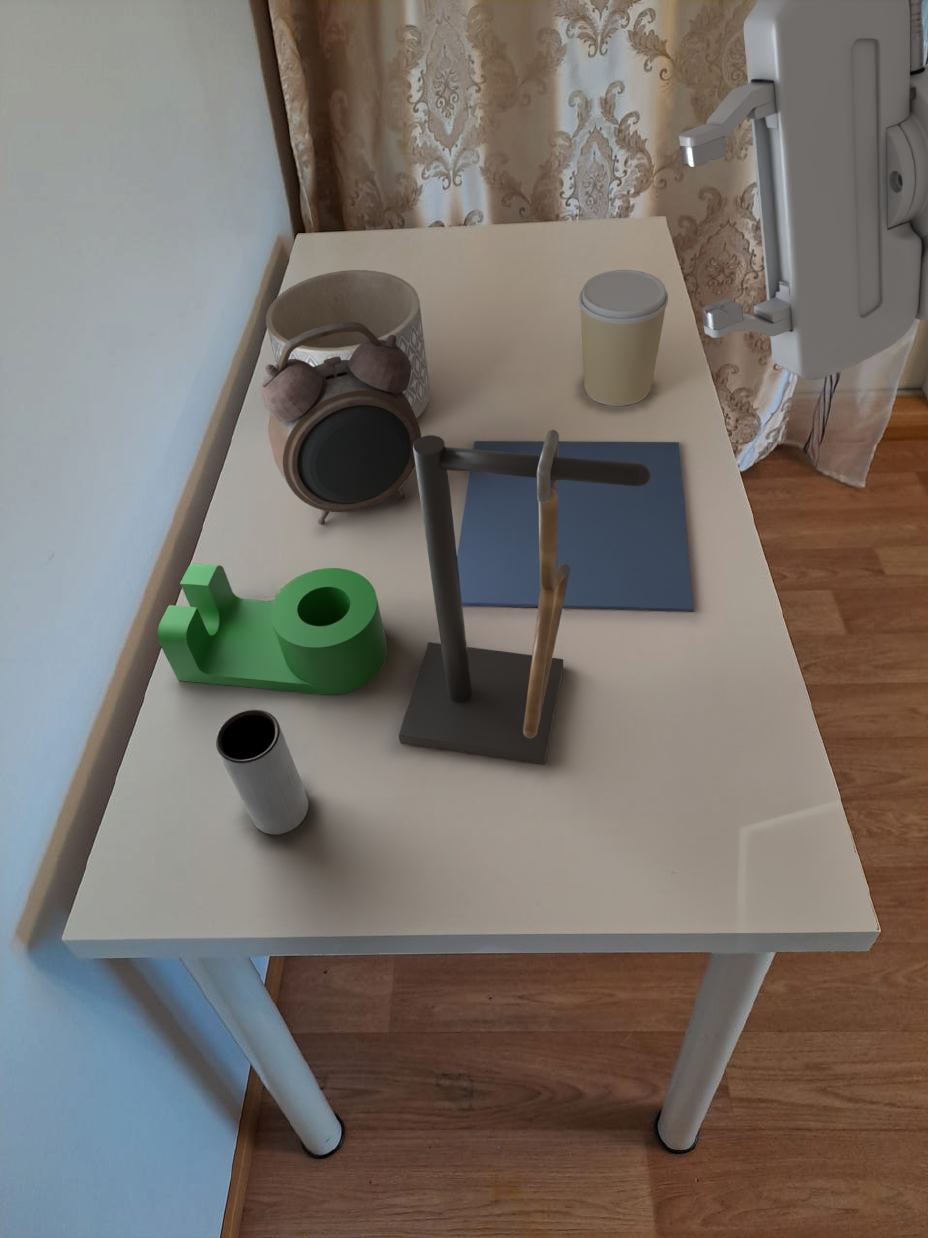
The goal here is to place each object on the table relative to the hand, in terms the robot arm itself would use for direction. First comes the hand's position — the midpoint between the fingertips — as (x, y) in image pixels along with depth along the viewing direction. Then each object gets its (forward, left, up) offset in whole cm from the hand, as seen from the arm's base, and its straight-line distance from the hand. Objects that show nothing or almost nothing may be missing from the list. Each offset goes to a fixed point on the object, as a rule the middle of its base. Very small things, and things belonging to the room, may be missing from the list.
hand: (696, 242), depth 50 cm
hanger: (+8, +6, -29) cm, 30 cm away
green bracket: (+31, 0, -37) cm, 49 cm away
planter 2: (+31, -36, -37) cm, 61 cm away
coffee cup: (+2, -41, -37) cm, 55 cm away
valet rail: (+11, +6, -37) cm, 39 cm away
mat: (+7, -18, -37) cm, 42 cm away
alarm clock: (+29, -20, -37) cm, 51 cm away
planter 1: (+29, +16, -37) cm, 50 cm away
